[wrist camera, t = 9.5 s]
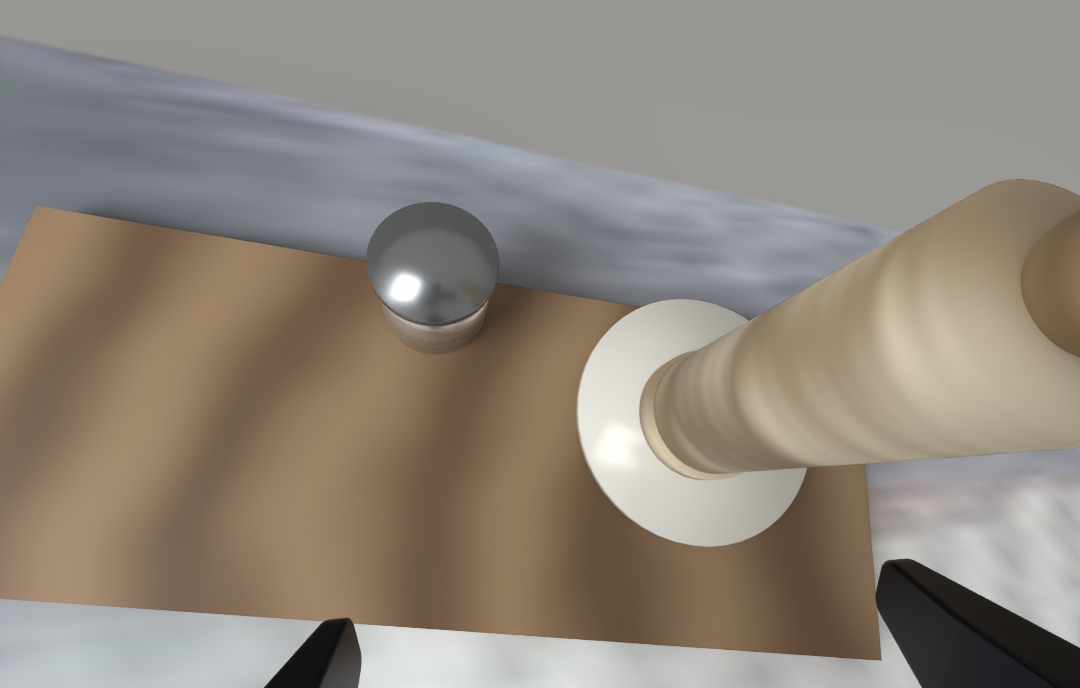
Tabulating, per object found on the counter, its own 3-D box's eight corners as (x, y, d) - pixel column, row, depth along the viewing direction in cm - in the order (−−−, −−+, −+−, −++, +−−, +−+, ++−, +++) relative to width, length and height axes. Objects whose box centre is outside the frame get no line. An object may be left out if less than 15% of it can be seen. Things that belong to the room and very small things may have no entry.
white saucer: (837, 401, 23) (847, 398, 22) (729, 601, 19) (738, 605, 19) (661, 261, 23) (666, 255, 22) (525, 434, 20) (528, 432, 19)
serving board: (835, 349, 25) (853, 343, 24) (857, 651, 21) (881, 660, 20) (59, 222, 20) (36, 205, 19) (-99, 582, 16) (-140, 588, 15)
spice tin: (508, 302, 21) (524, 256, 17) (441, 378, 20) (440, 348, 16) (431, 240, 21) (428, 179, 17) (358, 310, 20) (337, 263, 16)
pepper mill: (760, 482, 20) (1523, 455, 6) (640, 477, 19) (1186, 434, 5) (749, 361, 22) (1342, 102, 7) (637, 352, 21) (1057, 42, 7)
